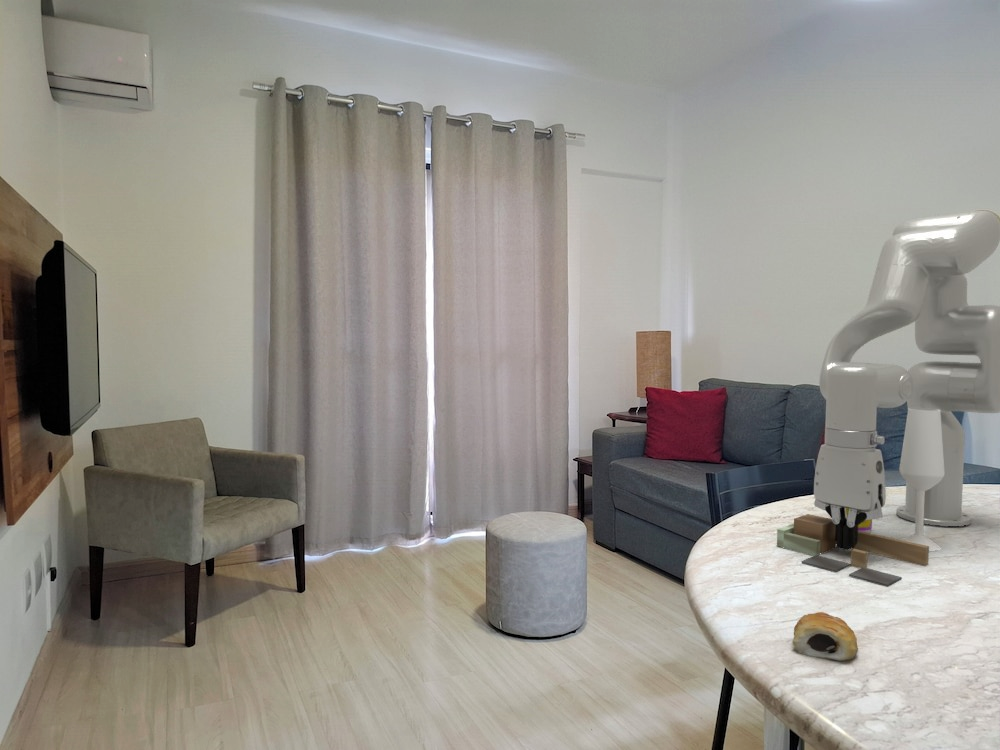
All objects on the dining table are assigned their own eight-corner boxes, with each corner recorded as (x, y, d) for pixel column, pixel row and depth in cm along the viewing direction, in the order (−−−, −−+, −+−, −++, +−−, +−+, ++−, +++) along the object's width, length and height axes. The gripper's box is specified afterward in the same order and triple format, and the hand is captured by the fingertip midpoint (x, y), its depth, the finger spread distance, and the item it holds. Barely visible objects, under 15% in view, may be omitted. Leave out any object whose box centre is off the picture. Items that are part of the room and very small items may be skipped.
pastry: (798, 624, 86) (799, 595, 86) (857, 636, 83) (859, 606, 82) (791, 655, 78) (792, 623, 77) (856, 669, 75) (858, 636, 74)
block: (807, 541, 120) (807, 514, 120) (835, 548, 116) (836, 520, 116) (793, 546, 117) (794, 518, 117) (821, 554, 113) (822, 525, 113)
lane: (806, 535, 123) (807, 519, 123) (928, 564, 108) (929, 546, 108) (761, 551, 114) (761, 534, 114) (887, 586, 98) (888, 566, 98)
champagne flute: (917, 537, 122) (922, 406, 121) (950, 549, 116) (957, 410, 114) (887, 540, 120) (892, 407, 119) (920, 552, 114) (925, 412, 112)
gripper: (908, 443, 108) (903, 554, 109) (816, 432, 120) (813, 533, 121) (888, 447, 103) (883, 564, 105) (794, 436, 115) (791, 541, 116)
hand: (845, 547), depth 113 cm, fingers closed
